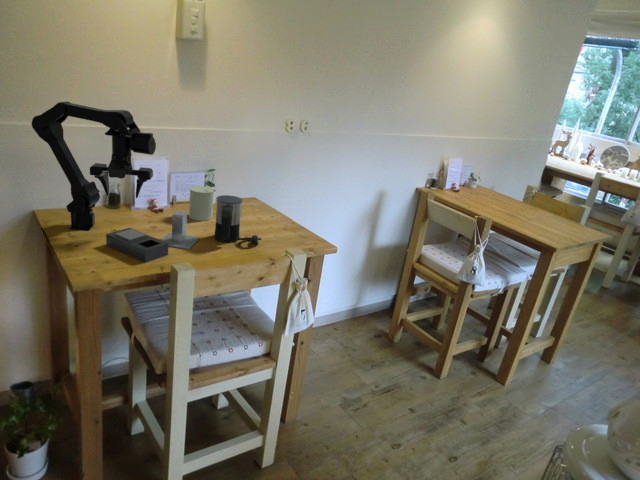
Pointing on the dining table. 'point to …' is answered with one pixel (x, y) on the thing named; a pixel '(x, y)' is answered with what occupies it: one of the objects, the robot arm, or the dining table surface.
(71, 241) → the dining table surface
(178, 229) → the grey rectangular block
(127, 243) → the dark grey socket base
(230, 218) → the milk frother
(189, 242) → the mat
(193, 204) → the can
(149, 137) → the robot arm
